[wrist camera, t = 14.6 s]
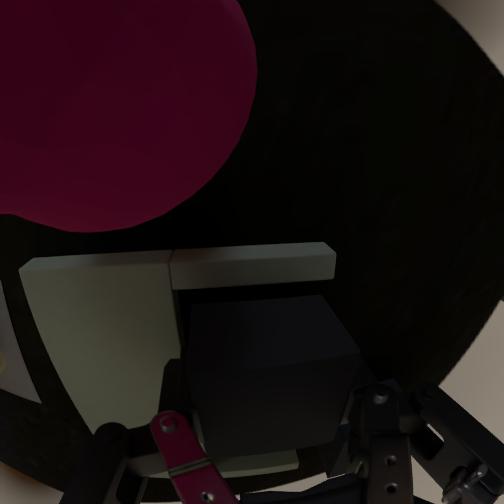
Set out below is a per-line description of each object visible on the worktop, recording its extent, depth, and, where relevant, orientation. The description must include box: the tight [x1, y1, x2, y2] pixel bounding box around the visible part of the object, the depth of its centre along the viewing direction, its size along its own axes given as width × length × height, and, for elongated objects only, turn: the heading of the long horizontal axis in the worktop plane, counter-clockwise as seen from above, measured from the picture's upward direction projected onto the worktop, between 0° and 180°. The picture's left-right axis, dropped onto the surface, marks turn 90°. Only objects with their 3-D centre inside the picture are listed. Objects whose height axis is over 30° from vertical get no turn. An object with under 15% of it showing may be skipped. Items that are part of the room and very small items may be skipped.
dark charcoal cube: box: [186, 295, 361, 458], centre depth 11 cm, size 5×5×4 cm
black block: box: [316, 378, 404, 478], centre depth 16 cm, size 5×5×4 cm
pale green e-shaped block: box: [19, 242, 336, 478], centre depth 14 cm, size 14×18×2 cm
